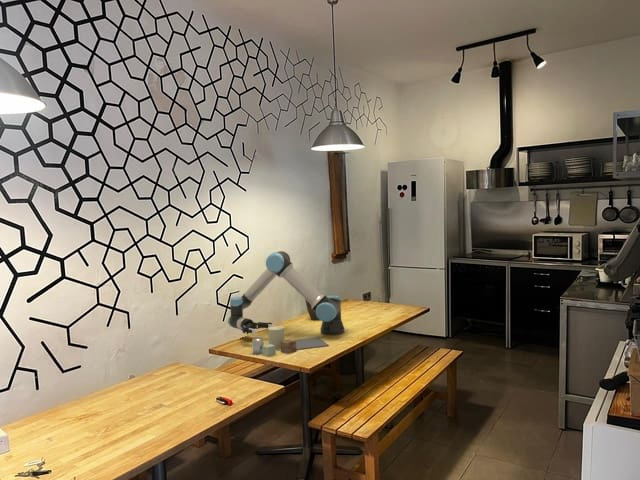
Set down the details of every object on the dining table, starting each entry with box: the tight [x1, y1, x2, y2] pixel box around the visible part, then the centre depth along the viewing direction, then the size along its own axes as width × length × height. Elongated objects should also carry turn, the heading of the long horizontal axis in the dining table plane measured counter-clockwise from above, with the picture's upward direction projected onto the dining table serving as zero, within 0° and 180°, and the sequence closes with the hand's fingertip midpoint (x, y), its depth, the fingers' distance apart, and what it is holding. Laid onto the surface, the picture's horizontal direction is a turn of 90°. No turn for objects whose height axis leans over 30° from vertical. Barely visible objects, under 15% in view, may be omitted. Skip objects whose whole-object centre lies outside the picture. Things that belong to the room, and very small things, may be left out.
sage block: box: [261, 343, 277, 357], centre depth 254 cm, size 5×5×5 cm
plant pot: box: [304, 298, 320, 321], centre depth 336 cm, size 15×15×16 cm
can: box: [267, 325, 285, 351], centre depth 266 cm, size 9×9×12 cm
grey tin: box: [251, 336, 265, 356], centre depth 258 cm, size 6×6×8 cm
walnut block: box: [280, 338, 297, 355], centre depth 258 cm, size 6×6×6 cm
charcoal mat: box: [294, 336, 330, 351], centre depth 272 cm, size 20×20×1 cm
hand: (265, 330), depth 273 cm, fingers open, 13 cm apart
